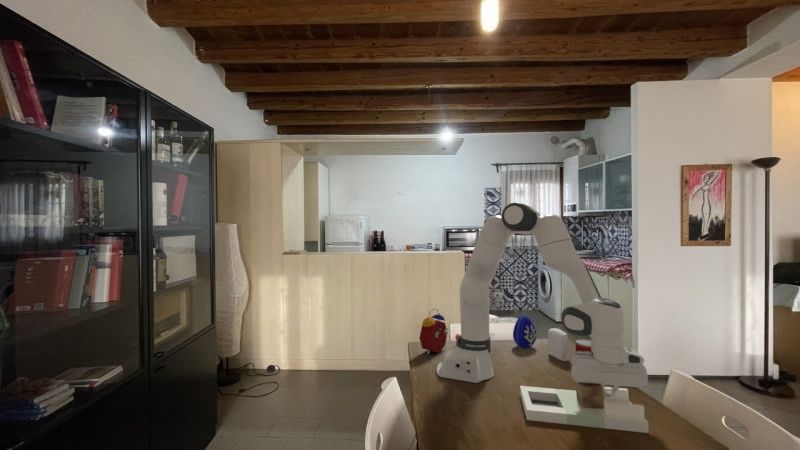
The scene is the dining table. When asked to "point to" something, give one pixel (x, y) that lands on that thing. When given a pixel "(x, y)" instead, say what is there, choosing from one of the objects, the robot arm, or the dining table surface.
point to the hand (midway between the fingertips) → (608, 398)
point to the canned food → (583, 345)
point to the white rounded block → (558, 344)
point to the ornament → (524, 332)
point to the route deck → (582, 409)
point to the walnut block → (590, 395)
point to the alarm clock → (433, 333)
